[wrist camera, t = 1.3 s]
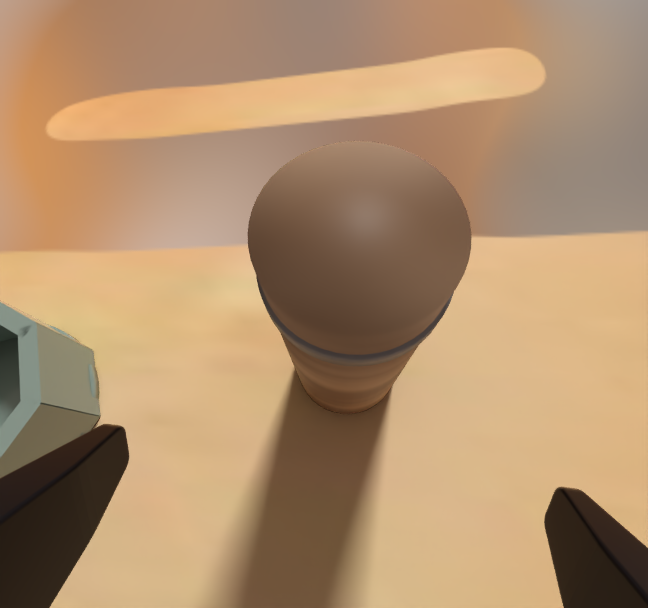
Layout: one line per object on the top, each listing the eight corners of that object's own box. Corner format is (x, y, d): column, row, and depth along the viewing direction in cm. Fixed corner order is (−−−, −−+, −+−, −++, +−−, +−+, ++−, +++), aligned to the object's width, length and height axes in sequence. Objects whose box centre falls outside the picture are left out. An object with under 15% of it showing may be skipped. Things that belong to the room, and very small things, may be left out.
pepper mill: (412, 396, 21) (518, 296, 9) (312, 429, 20) (276, 372, 8) (376, 304, 23) (421, 115, 11) (284, 332, 22) (221, 170, 10)
